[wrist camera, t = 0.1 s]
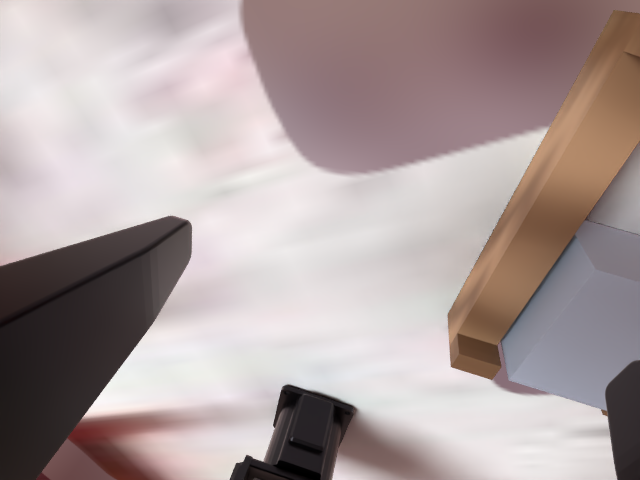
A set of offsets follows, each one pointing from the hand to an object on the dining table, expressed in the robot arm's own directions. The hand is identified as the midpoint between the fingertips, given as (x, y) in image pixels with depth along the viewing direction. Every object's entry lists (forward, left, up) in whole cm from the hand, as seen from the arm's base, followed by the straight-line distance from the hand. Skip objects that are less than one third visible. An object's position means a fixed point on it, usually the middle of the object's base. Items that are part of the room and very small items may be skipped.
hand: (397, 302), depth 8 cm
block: (-7, -12, -15) cm, 20 cm away
